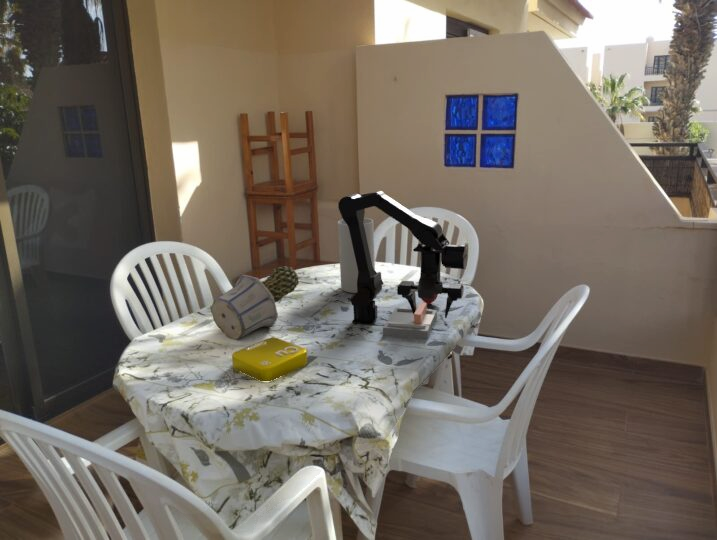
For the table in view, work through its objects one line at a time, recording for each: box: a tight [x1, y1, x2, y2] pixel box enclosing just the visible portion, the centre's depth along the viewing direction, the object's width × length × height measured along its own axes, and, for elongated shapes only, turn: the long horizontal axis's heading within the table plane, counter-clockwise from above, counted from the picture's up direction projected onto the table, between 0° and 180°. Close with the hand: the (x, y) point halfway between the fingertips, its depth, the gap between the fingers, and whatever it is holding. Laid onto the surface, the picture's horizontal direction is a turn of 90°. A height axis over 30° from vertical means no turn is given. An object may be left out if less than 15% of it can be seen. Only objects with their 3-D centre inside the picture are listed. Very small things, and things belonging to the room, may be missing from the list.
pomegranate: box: [420, 294, 438, 305], centre depth 189 cm, size 6×6×8 cm
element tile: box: [231, 336, 308, 381], centre depth 150 cm, size 15×15×5 cm
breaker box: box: [382, 306, 438, 340], centre depth 172 cm, size 13×17×3 cm
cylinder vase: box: [337, 217, 376, 294], centre depth 205 cm, size 12×12×25 cm
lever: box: [414, 302, 428, 324], centre depth 170 cm, size 2×10×3 cm, turn 163°
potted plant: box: [210, 265, 300, 340], centre depth 175 cm, size 18×18×30 cm
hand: (430, 316), depth 170 cm, fingers open, 9 cm apart
